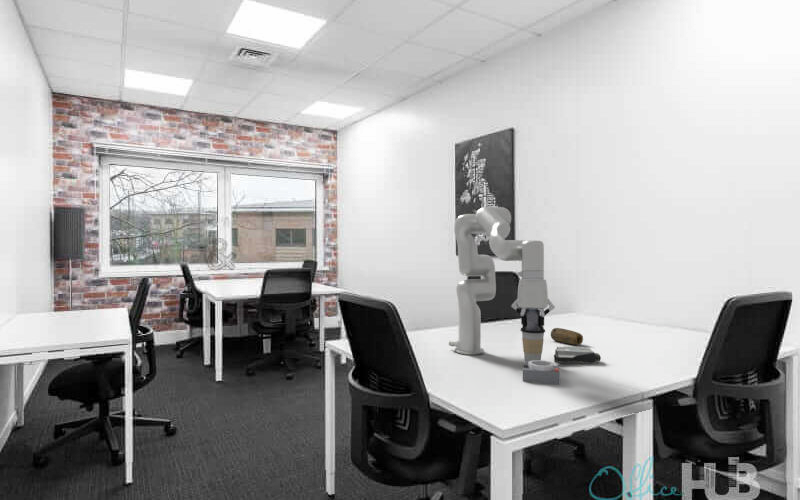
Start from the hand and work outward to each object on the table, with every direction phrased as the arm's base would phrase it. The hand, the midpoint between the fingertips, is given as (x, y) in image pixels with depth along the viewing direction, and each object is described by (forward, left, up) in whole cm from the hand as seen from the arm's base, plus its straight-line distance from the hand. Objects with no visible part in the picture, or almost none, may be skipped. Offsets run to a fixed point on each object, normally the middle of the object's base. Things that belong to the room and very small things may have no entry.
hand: (532, 326), depth 167 cm
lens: (0, 0, -1) cm, 1 cm away
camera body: (+3, 0, -18) cm, 18 cm away
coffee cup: (-1, +21, -18) cm, 28 cm away
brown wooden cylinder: (+13, +67, -18) cm, 70 cm away
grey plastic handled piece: (+15, +32, -19) cm, 40 cm away
